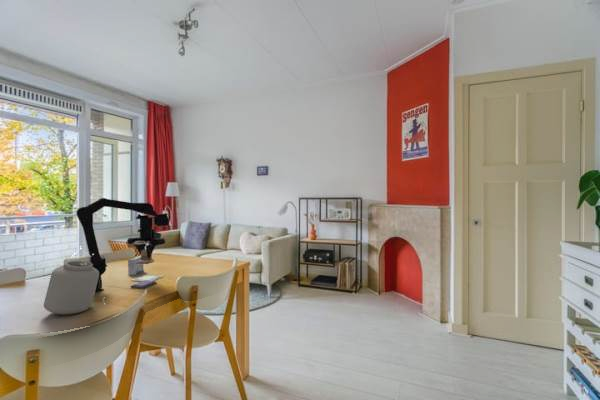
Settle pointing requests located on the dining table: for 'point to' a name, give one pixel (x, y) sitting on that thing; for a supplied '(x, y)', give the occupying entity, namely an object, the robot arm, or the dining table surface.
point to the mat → (147, 278)
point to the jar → (71, 288)
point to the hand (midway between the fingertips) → (146, 257)
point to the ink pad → (143, 284)
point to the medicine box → (134, 266)
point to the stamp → (145, 258)
